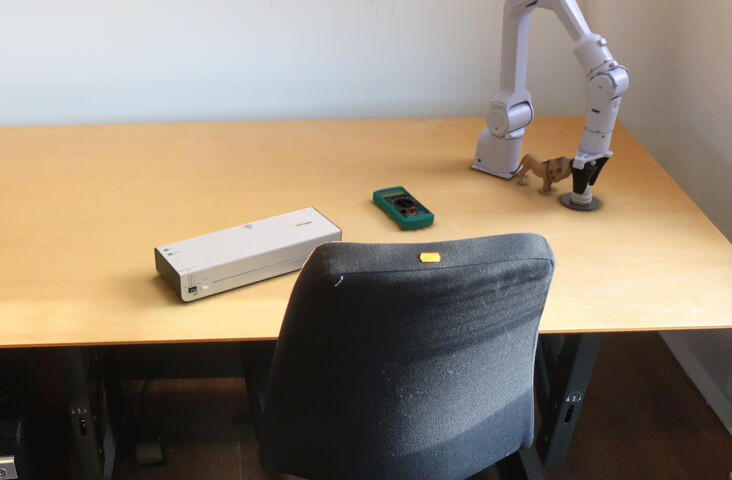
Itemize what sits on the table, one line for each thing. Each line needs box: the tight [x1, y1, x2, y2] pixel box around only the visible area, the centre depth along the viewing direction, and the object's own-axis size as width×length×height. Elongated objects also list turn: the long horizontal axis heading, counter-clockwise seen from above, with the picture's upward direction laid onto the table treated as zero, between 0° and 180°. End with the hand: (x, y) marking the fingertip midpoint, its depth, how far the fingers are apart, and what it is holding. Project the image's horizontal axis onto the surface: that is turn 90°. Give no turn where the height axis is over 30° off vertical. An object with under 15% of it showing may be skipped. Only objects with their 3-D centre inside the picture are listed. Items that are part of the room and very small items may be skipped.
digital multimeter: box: [372, 185, 435, 231], centre depth 180 cm, size 7×15×3 cm, turn 21°
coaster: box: [560, 192, 600, 212], centre depth 186 cm, size 8×8×1 cm
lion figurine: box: [509, 153, 572, 196], centre depth 189 cm, size 15×5×9 cm, turn 44°
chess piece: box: [570, 160, 596, 205], centre depth 183 cm, size 4×4×10 cm
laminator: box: [153, 206, 343, 303], centre depth 162 cm, size 34×12×6 cm, turn 119°
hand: (583, 188), depth 184 cm, fingers open, 5 cm apart
